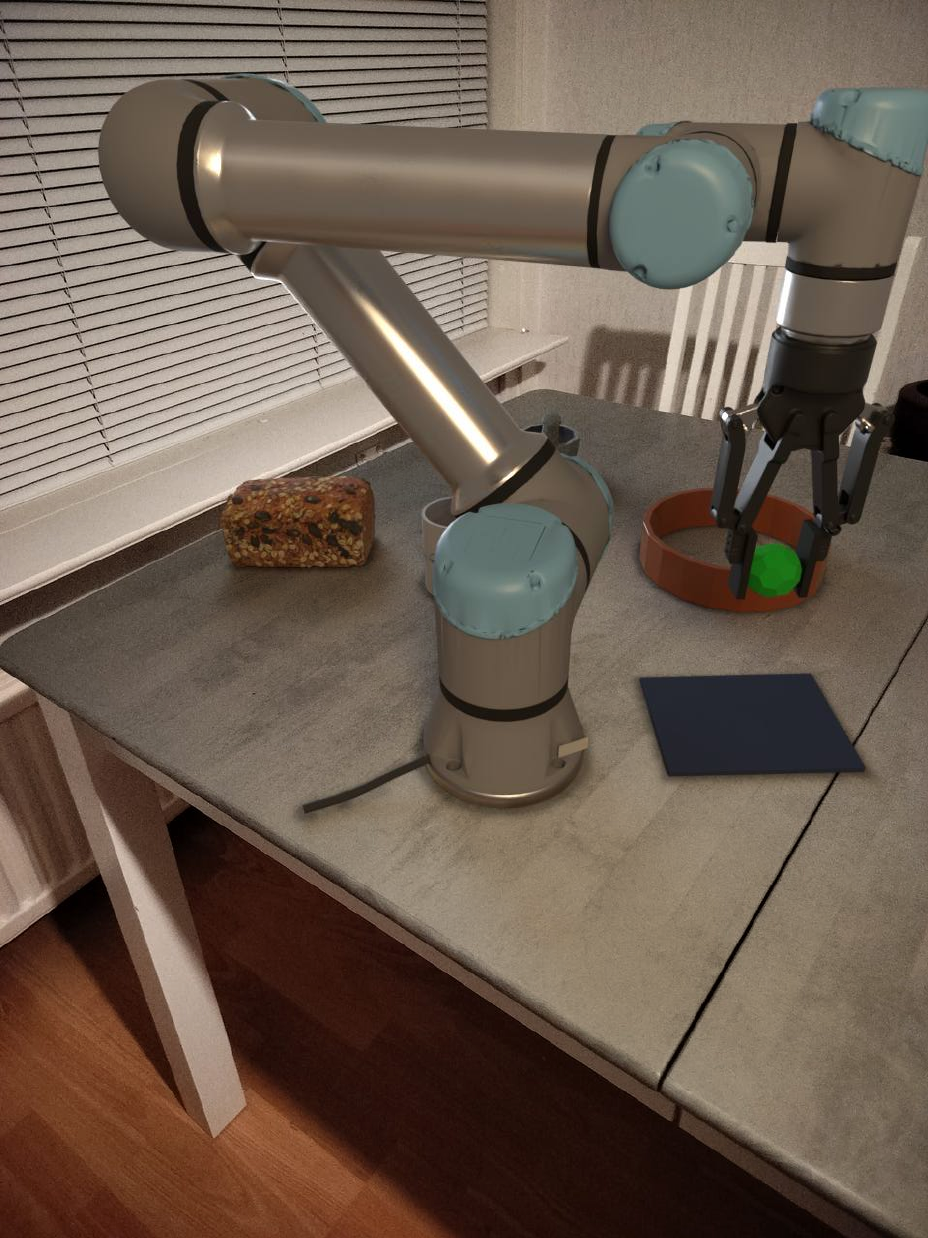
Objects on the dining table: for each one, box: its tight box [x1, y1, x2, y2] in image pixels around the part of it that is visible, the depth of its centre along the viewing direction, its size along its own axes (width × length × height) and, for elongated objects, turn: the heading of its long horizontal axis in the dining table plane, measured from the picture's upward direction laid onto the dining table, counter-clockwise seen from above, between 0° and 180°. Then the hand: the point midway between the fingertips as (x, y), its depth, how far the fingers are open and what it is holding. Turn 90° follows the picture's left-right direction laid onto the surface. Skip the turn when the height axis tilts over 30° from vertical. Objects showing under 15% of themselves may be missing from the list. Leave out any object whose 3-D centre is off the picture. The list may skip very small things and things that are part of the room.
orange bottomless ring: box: [638, 487, 833, 613], centre depth 105 cm, size 23×23×6 cm
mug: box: [421, 496, 456, 596], centre depth 100 cm, size 12×9×10 cm
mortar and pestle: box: [520, 411, 581, 457], centre depth 127 cm, size 11×9×12 cm
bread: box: [220, 475, 377, 568], centre depth 109 cm, size 19×11×10 cm, turn 85°
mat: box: [639, 672, 867, 777], centre depth 81 cm, size 18×14×1 cm
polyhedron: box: [748, 542, 802, 598], centre depth 74 cm, size 5×5×5 cm
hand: (767, 590), depth 75 cm, fingers closed on polyhedron, 5 cm apart
